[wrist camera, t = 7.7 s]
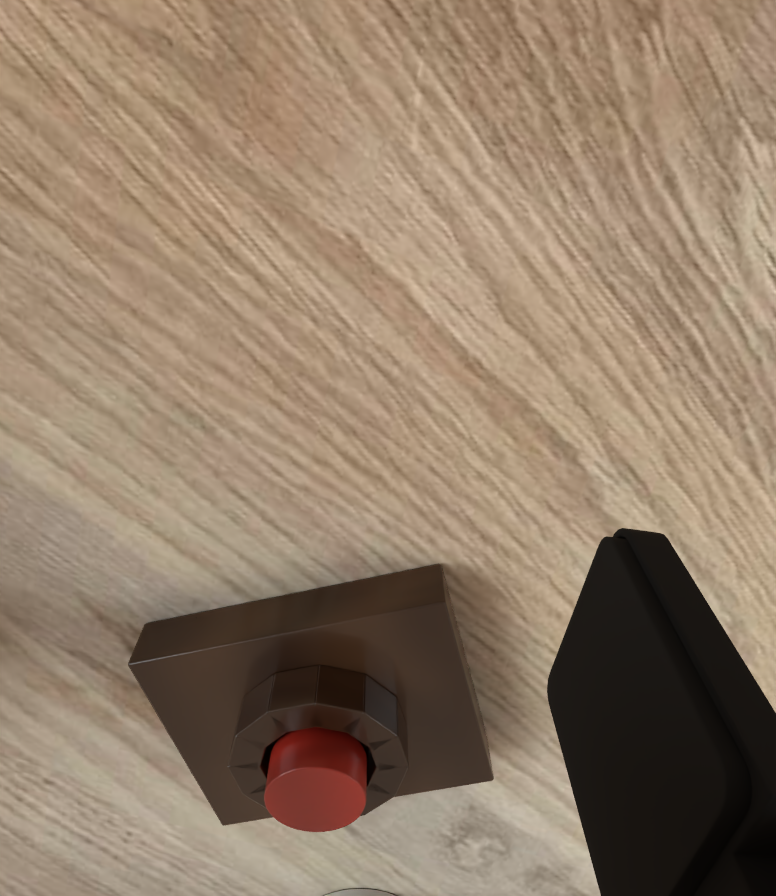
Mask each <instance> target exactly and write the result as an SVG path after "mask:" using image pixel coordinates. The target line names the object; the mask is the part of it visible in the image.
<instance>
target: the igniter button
mask: <svg viewBox="0 0 776 896" xmlns="http://www.w3.org/2000/svg"><path fill="white" fill-rule="evenodd" d="M366 790H367V755H366V751H365V749H364V747H363V746H362V744H361V743H360V742H359V741H358V740H357V739H356V738H354V737H353V736H351V735H350V734H348V733H346V732H341V731H335V730H330V729H325V728H319V727H313V728H307V729H302V730H296V731H291V732H288V733H287V734H285V735H283V736H282V737H281V738H280V739H279V740H278V741H277V742H276V743H275V745H274V746H273V748H272V751H271V756H270V762H269V768H268V774H267V781H266V787H265V793H264V801H265V805H266V808H267V810H268V811H269V813H270V814H271V815H272V816H273V817H274V818H275V819H276V820H278V821H279V822H281V823H282V824H284V825H286V826H289V827H291V828H294V829H297V830H302V831H309V832H325V831H332V830H336V829H339V828H342V827H345V826H347V825H349V824H351V823H352V822H354V821H355V820H356V819H357V818H358V817H359V816H360V815H361V814H362V812H363V810H364V808H365V805H366Z"/></svg>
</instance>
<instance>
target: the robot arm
mask: <svg viewBox="0 0 776 896" xmlns="http://www.w3.org/2000/svg"><path fill="white" fill-rule="evenodd" d="M547 693H548V701H549V705H550V709H551V713H552V716H553V720H554V724H555V728H556V731H557V735H558V739H559V742H560V746H561V750H562V753H563V757H564V761H565V764H566V768H567V772H568V775H569V779H570V783H571V787H572V790H573V794H574V798H575V801H576V805H577V809H578V812H579V816H580V820H581V823H582V827H583V831H584V834H585V838H586V842H587V846H588V849H589V853H590V857H591V860H592V864H593V868H594V871H595V875H596V879H597V882H598V886H599V890H600V893H601V896H776V713H775V711H774V710H773V708H772V706H771V705H770V703H769V701H768V700H767V698H766V697H765V695H764V693H763V692H762V690H761V689H760V687H759V685H758V684H757V682H756V680H755V679H754V677H753V676H752V674H751V672H750V671H749V669H748V668H747V666H746V664H745V663H744V661H743V659H742V658H741V656H740V655H739V653H738V651H737V650H736V648H735V647H734V645H733V643H732V642H731V640H730V639H729V637H728V635H727V634H726V632H725V630H724V629H723V627H722V626H721V624H720V622H719V621H718V619H717V618H716V616H715V614H714V613H713V611H712V609H711V608H710V606H709V605H708V603H707V601H706V600H705V598H704V597H703V595H702V593H701V592H700V590H699V589H698V587H697V585H696V584H695V582H694V580H693V579H692V577H691V576H690V574H689V572H688V571H687V569H686V568H685V566H684V564H683V563H682V561H681V559H680V558H679V556H678V555H677V553H676V551H675V550H674V548H673V547H672V545H671V543H670V542H669V540H668V539H667V538H666V536H665V535H664V534H661V533H655V532H648V531H640V530H633V529H625V528H622V529H619V530H618V531H617V532H616V533H615V534H614V536H613V537H605V538H603V539H602V540H601V542H600V544H599V546H598V549H597V551H596V554H595V557H594V559H593V562H592V565H591V567H590V570H589V572H588V575H587V578H586V580H585V583H584V585H583V588H582V591H581V593H580V596H579V598H578V601H577V604H576V606H575V609H574V612H573V614H572V617H571V619H570V622H569V625H568V627H567V630H566V632H565V635H564V638H563V640H562V643H561V645H560V648H559V651H558V653H557V656H556V658H555V661H554V664H553V666H552V669H551V672H550V675H549V678H548V687H547Z"/></svg>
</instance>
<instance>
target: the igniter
mask: <svg viewBox="0 0 776 896" xmlns="http://www.w3.org/2000/svg"><path fill="white" fill-rule="evenodd" d="M128 666H129V668H130V669H131V671H132V673H133V674H134V676H135V678H136V679H137V681H138V683H139V685H140V686H141V688H142V690H143V691H144V693H145V695H146V696H147V698H148V700H149V701H150V703H151V705H152V707H153V708H154V710H155V712H156V713H157V715H158V717H159V718H160V720H161V722H162V723H163V725H164V727H165V729H166V730H167V732H168V734H169V735H170V737H171V739H172V740H173V742H174V744H175V746H176V747H177V749H178V751H179V752H180V754H181V756H182V757H183V759H184V761H185V762H186V764H187V766H188V768H189V769H190V771H191V773H192V774H193V776H194V778H195V779H196V781H197V783H198V785H199V786H200V788H201V790H202V791H203V793H204V795H205V796H206V798H207V800H208V801H209V803H210V805H211V807H212V808H213V810H214V812H215V813H216V815H217V817H218V818H219V820H220V822H221V823H222V825H230V824H236V823H242V822H248V821H254V820H260V819H266V818H272V817H273V816H272V815H271V814H270V813H269V811H268V810H267V808H266V805H265V801H264V793H265V787H266V781H267V774H268V768H269V762H270V756H271V751H272V748H273V746H274V745H275V743H276V742H277V741H278V740H279V739H280V738H281V737H282V736H283V735H285V734H287V733H288V732H291V731H296V730H302V729H307V728H313V727H319V728H325V729H330V730H335V731H341V732H346V733H348V734H350V735H351V736H353V737H354V738H356V739H357V740H358V741H359V742H360V743H361V744H362V746H363V747H364V749H365V751H366V755H367V790H366V805H365V808H364V810H363V812H362V814H361V815H360V816H362V815H365V814H367V813H369V812H370V811H372V810H374V809H375V808H377V807H378V806H380V805H382V804H383V803H385V802H386V801H388V800H390V799H391V798H393V797H397V796H403V795H409V794H415V793H421V792H427V791H433V790H439V789H445V788H451V787H457V786H463V785H469V784H475V783H481V782H487V781H492V780H493V779H494V777H493V770H492V764H491V758H490V752H489V745H488V739H487V735H486V731H485V727H484V723H483V719H482V716H481V712H480V708H479V704H478V701H477V697H476V693H475V689H474V686H473V682H472V678H471V674H470V671H469V667H468V663H467V659H466V656H465V652H464V648H463V644H462V641H461V637H460V633H459V629H458V626H457V622H456V618H455V614H454V611H453V607H452V603H451V599H450V596H449V592H448V588H447V584H446V581H445V577H444V573H443V569H442V566H441V565H440V564H437V565H432V566H427V567H422V568H417V569H412V570H407V571H402V572H397V573H392V574H387V575H382V576H377V577H373V578H368V579H363V580H358V581H353V582H348V583H343V584H338V585H333V586H328V587H323V588H318V589H313V590H308V591H304V592H299V593H294V594H289V595H284V596H279V597H274V598H269V599H264V600H259V601H254V602H249V603H244V604H240V605H235V606H230V607H225V608H220V609H215V610H210V611H205V612H200V613H195V614H190V615H185V616H180V617H175V618H171V619H166V620H161V621H156V622H151V623H146V624H145V625H144V627H143V630H142V632H141V634H140V637H139V639H138V641H137V644H136V646H135V648H134V651H133V653H132V655H131V658H130V660H129V663H128Z"/></svg>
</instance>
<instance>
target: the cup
mask: <svg viewBox="0 0 776 896" xmlns="http://www.w3.org/2000/svg"><path fill="white" fill-rule="evenodd" d="M325 896H395V895H393V894H390V893H387V892H383V891H378V890H371V889H349V890H342V891H337V892H333V893H330V894H327V895H325Z"/></svg>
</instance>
